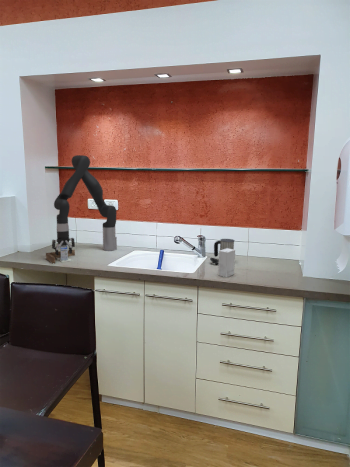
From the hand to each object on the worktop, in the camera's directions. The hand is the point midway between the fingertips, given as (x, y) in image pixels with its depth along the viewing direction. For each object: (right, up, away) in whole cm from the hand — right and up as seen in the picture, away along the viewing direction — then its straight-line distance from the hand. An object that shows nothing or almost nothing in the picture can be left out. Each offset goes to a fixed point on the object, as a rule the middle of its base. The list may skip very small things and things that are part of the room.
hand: (63, 254), depth 228 cm
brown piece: (-1, -3, +1) cm, 4 cm away
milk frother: (+104, -6, -3) cm, 104 cm away
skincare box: (+103, -10, -30) cm, 107 cm away
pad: (0, -4, +1) cm, 4 cm away
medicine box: (0, -3, +1) cm, 4 cm away
